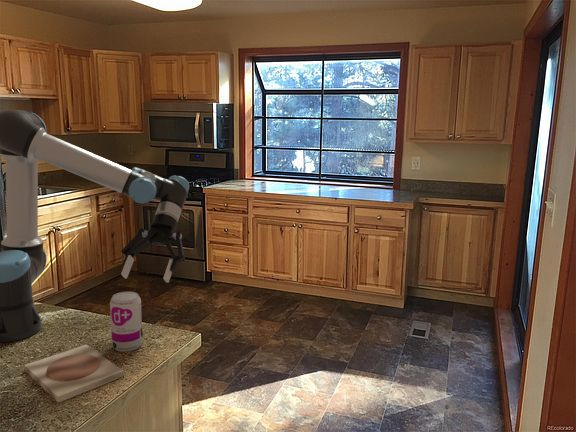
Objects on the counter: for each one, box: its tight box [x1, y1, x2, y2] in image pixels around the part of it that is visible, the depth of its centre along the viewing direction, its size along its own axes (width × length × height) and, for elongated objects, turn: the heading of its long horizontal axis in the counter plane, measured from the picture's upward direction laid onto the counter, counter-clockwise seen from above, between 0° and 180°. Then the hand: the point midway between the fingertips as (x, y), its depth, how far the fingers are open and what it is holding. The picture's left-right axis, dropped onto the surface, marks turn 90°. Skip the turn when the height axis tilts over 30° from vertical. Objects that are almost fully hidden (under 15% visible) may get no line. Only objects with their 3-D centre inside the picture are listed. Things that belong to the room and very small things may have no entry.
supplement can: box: [109, 291, 143, 353], centre depth 134 cm, size 8×8×15 cm
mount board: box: [24, 344, 125, 404], centre depth 120 cm, size 20×16×2 cm
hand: (144, 278), depth 142 cm, fingers open, 13 cm apart
